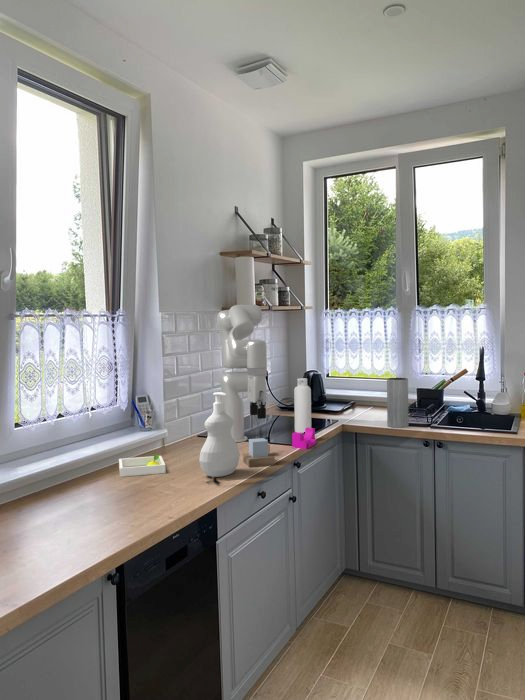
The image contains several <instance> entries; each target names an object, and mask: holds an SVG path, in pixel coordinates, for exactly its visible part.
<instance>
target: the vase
mask: <svg viewBox="0 0 525 700" xmlns="http://www.w3.org/2000/svg"><path fill="white" fill-rule="evenodd" d="M386 404H387V405H386V409H387V410H386V413H387V414H386V421H387V422H386V423H387V427H388V428H391V429H405V428H409V423H410V422H409V419H410V418H409V379H408V378H406V377H389V378H387V379H386Z"/></svg>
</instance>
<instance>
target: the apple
mask: <svg viewBox="0 0 525 700" xmlns="http://www.w3.org/2000/svg"><path fill="white" fill-rule="evenodd" d="M153 456H154V461H155V460H157V459H158V458H159V456H160V455H159V454H155V455H153ZM154 461H153V462H149V463H148V464H147V465H146V466H149V465H160V464H159V463H157V462H154Z"/></svg>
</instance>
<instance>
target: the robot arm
mask: <svg viewBox="0 0 525 700" xmlns="http://www.w3.org/2000/svg"><path fill="white" fill-rule="evenodd" d="M262 311H263V310H262V308H261V307H260V306H259V305H257V304H235V305H233V306H231V307H230V308H229V309H225V310H221V311H219V312H218V313H217V315H216V326H217V330H218V331H219V334H220V338H221V349H222V350H221V356H222V364H223V366H224V368H226V369H230V370H235V369H246V371H245V370H243V371H226V372H224V373H223V374H222V375H220V379H219V380H220V381H219V382H220V387H221V392H223V393H225V394H226V395H227V396H222V402H224V411H225V413H226V414H227V415H229V416H230V417H231V418H232V419H233V426H232V428H231V435H232V438H233V439H234V441H235V442H236V443H243V442H246V441H248V436H246V435H245V420H244V419H245V418H244V417H245V416H244V412H245V411H244V408H245V407H244V400H243V398H242V397H241V395H239V393H247V400H248V401H249V415H250V416H256V415H257V420H260V419H262V420H263V419H266V418H267V386H266V385H267V383H266V382H267V381H266V377H267V376H268V366H267V365H268V363H267V358H268V357H267V356H268V355H267V342H266V341H265V340H262V339H247V338H248V337H250V336H251V335H252V334H253V332H254V330H255V327H257V326H258V325H259V324H261V322H262V320H263V312H262Z"/></svg>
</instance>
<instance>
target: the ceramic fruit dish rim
mask: <svg viewBox="0 0 525 700" xmlns="http://www.w3.org/2000/svg"><path fill="white" fill-rule="evenodd" d="M154 456H155V455H153V456H140V457H138V456H137V457H127V458H118V468H119V469H118V470H119V476H120V478H121V477H122V478H123V477H135V476H144V475H145V476H146V475H147V476H148V475H159V474H166V463H165V461H164V459H163V457H162V455H159V458H158V459H157V460H155V461H154ZM153 461H154V462H157V463H159V464H160V465H149V466H147V464H148V463H149V462H153Z"/></svg>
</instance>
